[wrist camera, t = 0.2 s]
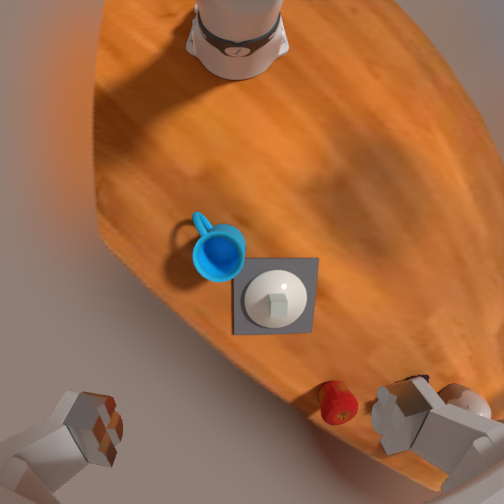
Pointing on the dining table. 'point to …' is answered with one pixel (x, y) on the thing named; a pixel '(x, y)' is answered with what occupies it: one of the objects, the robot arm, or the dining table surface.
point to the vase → (465, 399)
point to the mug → (218, 250)
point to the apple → (337, 403)
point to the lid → (275, 298)
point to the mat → (254, 266)
